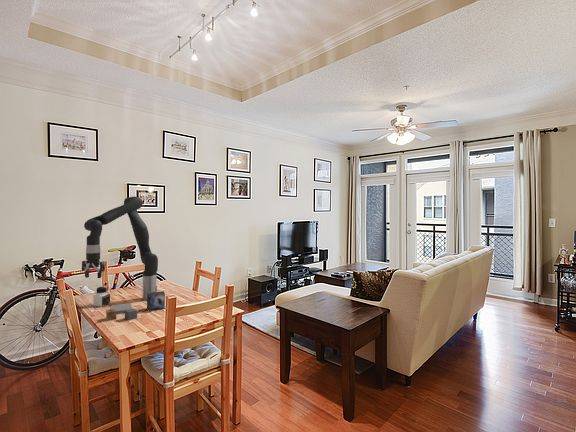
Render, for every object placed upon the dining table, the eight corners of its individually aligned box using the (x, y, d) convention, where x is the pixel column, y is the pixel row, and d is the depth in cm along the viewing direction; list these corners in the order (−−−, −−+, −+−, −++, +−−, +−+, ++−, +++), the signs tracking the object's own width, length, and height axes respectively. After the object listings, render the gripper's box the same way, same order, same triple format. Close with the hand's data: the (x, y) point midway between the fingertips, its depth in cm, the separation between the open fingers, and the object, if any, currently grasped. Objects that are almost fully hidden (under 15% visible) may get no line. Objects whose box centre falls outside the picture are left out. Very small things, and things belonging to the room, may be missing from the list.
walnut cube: (115, 316, 192) (115, 308, 192) (116, 319, 188) (116, 311, 187) (106, 318, 189) (106, 310, 189) (106, 320, 185) (106, 312, 185)
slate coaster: (130, 306, 211) (130, 303, 211) (132, 312, 201) (132, 308, 201) (109, 309, 204) (109, 306, 204) (110, 315, 194) (110, 311, 194)
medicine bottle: (102, 306, 210) (102, 288, 210) (93, 305, 211) (93, 288, 211) (110, 303, 217) (110, 286, 217) (101, 302, 218) (101, 285, 218)
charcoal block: (133, 316, 193) (133, 308, 193) (137, 318, 190) (137, 310, 190) (124, 318, 189) (124, 310, 189) (128, 320, 186) (128, 312, 186)
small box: (147, 311, 203) (147, 295, 202) (146, 308, 209) (146, 292, 208) (164, 309, 208) (165, 293, 207) (163, 306, 213) (163, 290, 213)
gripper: (107, 251, 198) (107, 277, 199) (87, 250, 201) (87, 275, 201) (98, 253, 191) (98, 279, 191) (78, 252, 193) (78, 278, 194)
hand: (93, 277), depth 196 cm, fingers open, 8 cm apart
